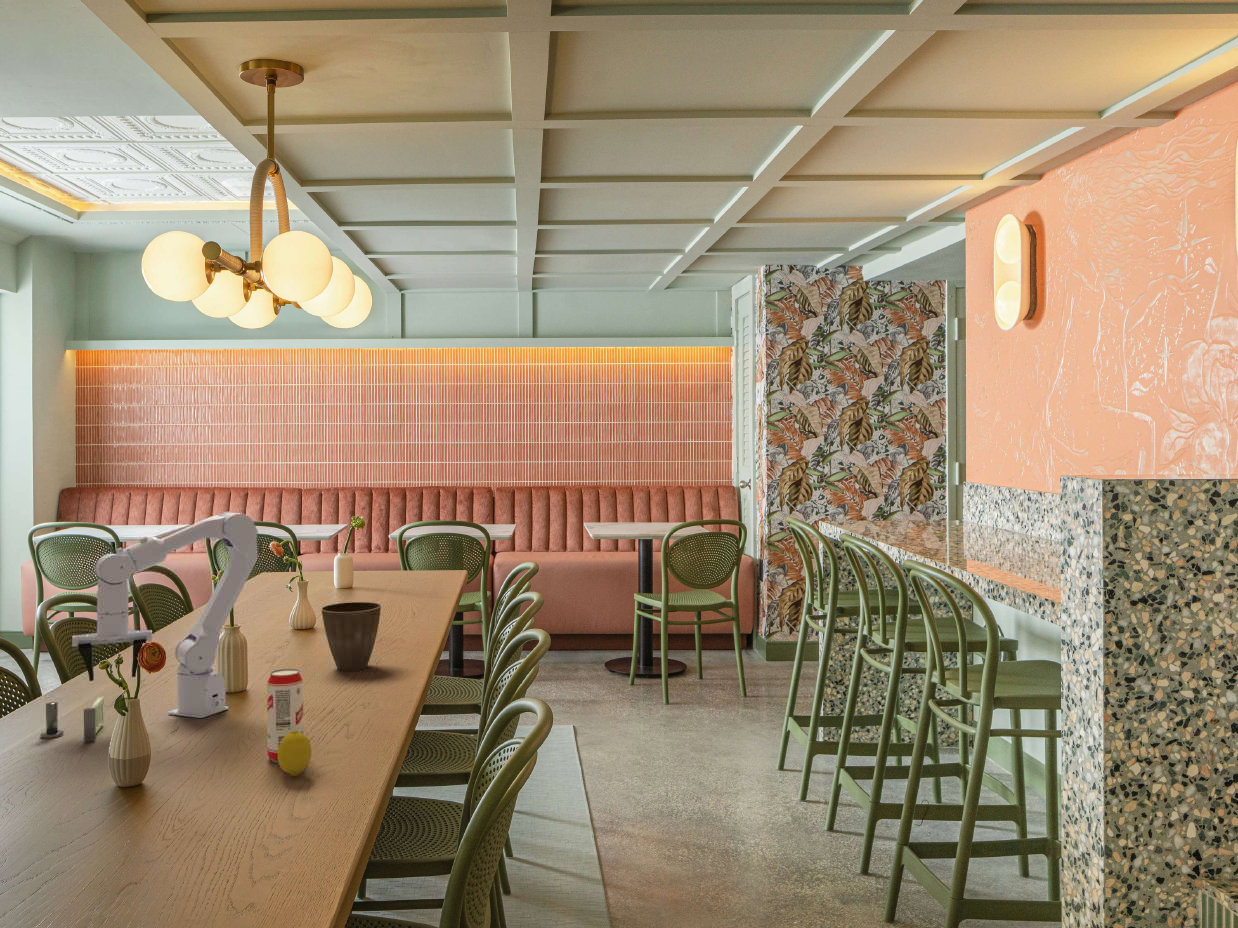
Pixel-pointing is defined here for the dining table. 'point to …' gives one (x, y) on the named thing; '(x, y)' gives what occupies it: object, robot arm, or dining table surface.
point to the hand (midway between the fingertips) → (112, 677)
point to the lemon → (294, 753)
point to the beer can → (283, 707)
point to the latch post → (52, 722)
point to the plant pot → (351, 632)
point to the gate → (93, 719)
